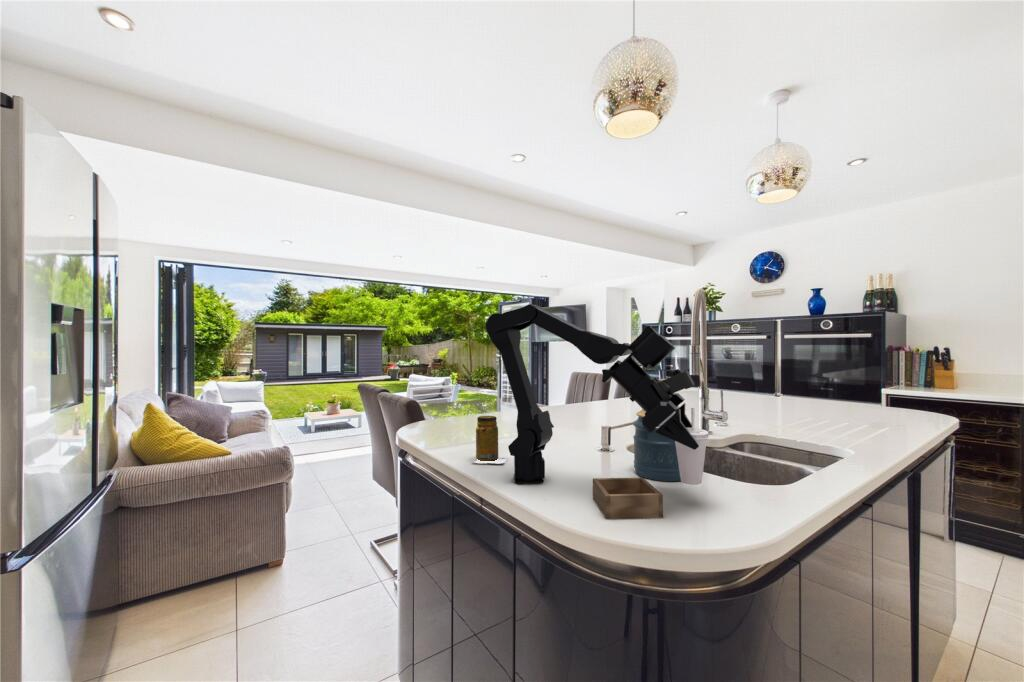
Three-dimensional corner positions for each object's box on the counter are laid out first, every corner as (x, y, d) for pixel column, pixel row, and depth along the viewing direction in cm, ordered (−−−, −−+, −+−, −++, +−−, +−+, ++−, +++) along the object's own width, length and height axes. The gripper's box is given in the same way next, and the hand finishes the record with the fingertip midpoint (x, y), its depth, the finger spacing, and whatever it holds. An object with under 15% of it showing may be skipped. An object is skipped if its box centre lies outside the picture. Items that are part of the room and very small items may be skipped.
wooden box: (606, 519, 72) (605, 496, 72) (593, 498, 82) (592, 478, 82) (663, 517, 72) (663, 494, 72) (643, 497, 82) (642, 477, 82)
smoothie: (713, 488, 75) (712, 411, 75) (676, 486, 76) (675, 410, 76) (704, 476, 81) (703, 405, 81) (670, 475, 83) (669, 405, 83)
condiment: (478, 457, 115) (478, 414, 116) (508, 458, 114) (507, 415, 114) (471, 464, 108) (471, 418, 109) (502, 465, 107) (502, 419, 107)
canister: (694, 484, 90) (693, 403, 90) (633, 479, 94) (631, 402, 94) (688, 468, 102) (687, 397, 103) (634, 464, 106) (633, 396, 107)
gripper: (660, 356, 73) (732, 424, 67) (673, 355, 89) (731, 410, 84) (616, 398, 76) (681, 466, 71) (636, 390, 93) (689, 444, 87)
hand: (698, 444), depth 78 cm, fingers closed on smoothie, 6 cm apart
